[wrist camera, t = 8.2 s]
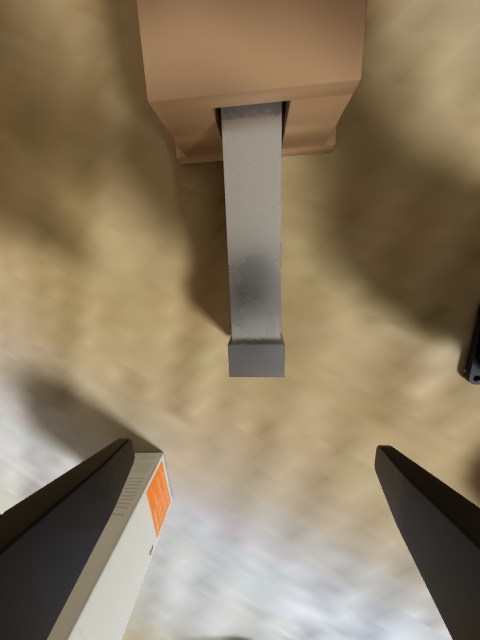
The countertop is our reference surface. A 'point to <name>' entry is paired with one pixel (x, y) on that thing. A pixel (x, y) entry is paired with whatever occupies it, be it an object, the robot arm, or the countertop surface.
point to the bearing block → (251, 67)
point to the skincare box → (119, 557)
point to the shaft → (254, 237)
